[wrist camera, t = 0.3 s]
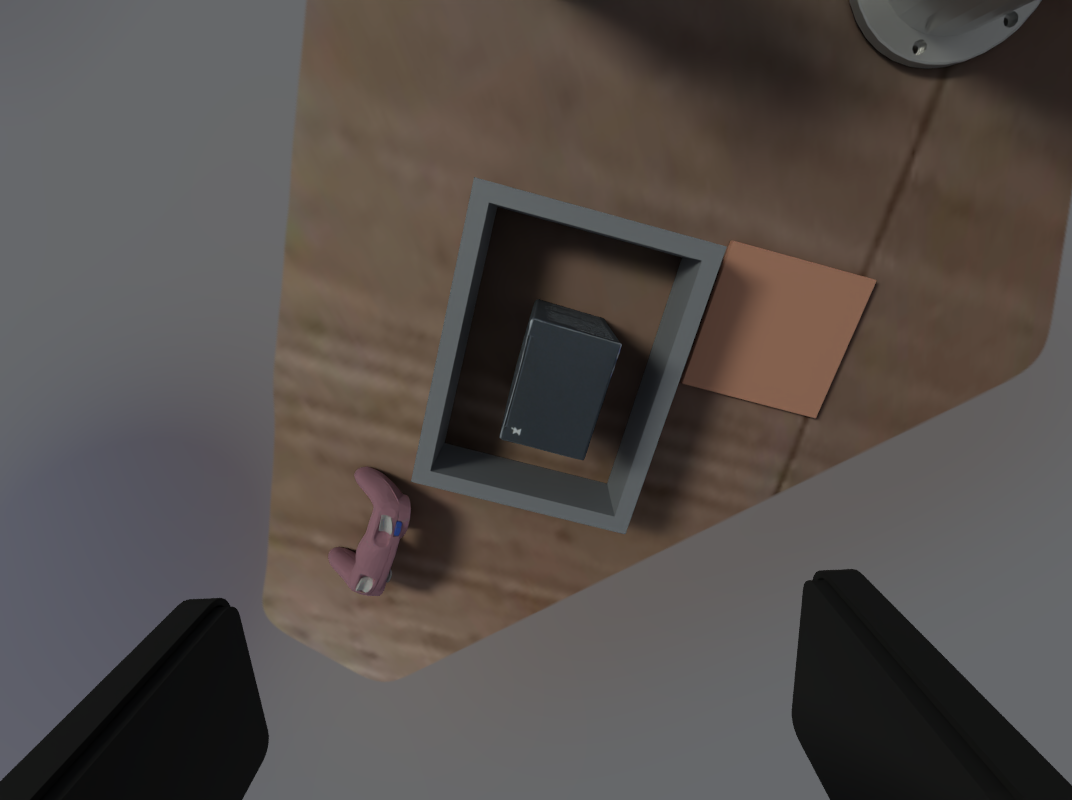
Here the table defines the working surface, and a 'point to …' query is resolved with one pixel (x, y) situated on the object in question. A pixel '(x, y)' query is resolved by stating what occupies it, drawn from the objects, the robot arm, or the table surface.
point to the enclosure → (653, 399)
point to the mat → (776, 329)
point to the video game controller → (374, 536)
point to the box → (560, 380)
